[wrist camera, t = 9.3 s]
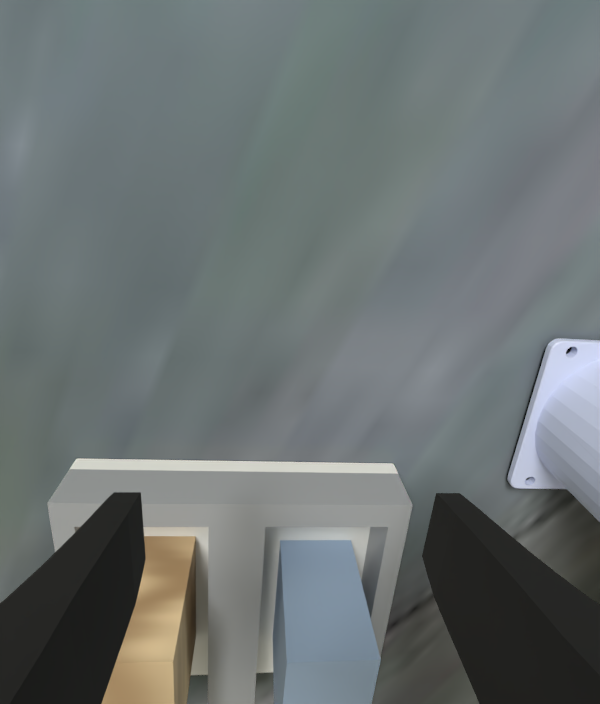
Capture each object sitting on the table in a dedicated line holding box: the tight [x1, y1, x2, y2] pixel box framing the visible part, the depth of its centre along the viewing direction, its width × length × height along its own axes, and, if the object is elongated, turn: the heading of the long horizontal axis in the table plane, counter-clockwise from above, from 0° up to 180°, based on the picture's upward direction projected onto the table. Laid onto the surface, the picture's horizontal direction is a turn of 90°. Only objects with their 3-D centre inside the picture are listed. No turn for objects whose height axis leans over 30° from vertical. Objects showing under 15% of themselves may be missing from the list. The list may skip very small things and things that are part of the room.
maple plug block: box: [102, 536, 196, 704], centre depth 20 cm, size 4×7×6 cm, turn 175°
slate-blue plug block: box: [272, 540, 381, 704], centre depth 21 cm, size 4×7×6 cm, turn 175°
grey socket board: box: [47, 459, 413, 704], centre depth 22 cm, size 15×14×3 cm
